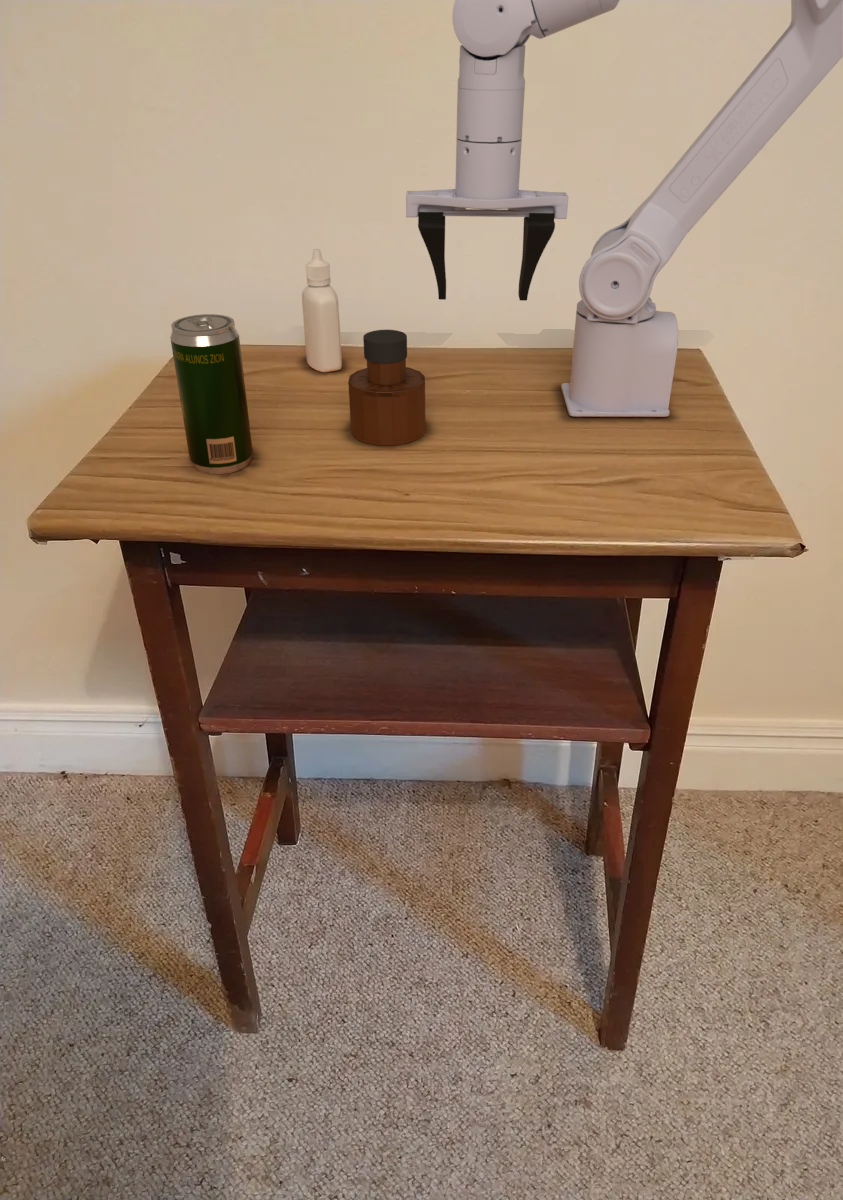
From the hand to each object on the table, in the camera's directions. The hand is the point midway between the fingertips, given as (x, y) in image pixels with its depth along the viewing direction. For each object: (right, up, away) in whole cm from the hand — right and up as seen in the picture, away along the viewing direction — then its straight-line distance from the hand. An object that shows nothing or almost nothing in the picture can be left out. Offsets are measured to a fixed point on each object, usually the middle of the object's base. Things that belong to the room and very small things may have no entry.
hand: (482, 297), depth 87 cm
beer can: (-23, -17, -8) cm, 30 cm away
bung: (-9, -8, -6) cm, 14 cm away
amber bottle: (-9, -13, -3) cm, 16 cm away
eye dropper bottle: (-16, -3, +12) cm, 21 cm away
